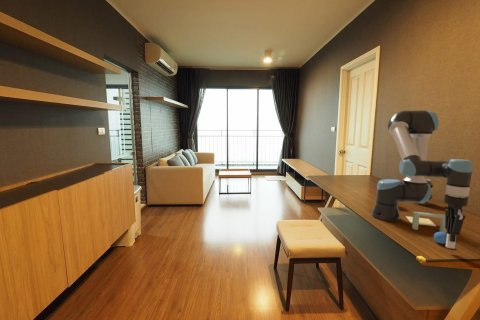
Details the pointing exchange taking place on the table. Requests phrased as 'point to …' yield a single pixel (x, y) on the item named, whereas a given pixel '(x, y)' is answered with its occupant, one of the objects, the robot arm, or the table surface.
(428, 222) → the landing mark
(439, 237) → the ball
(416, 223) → the bridge
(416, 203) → the apothecary jar
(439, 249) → the table surface
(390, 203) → the robot arm
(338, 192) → the table surface
